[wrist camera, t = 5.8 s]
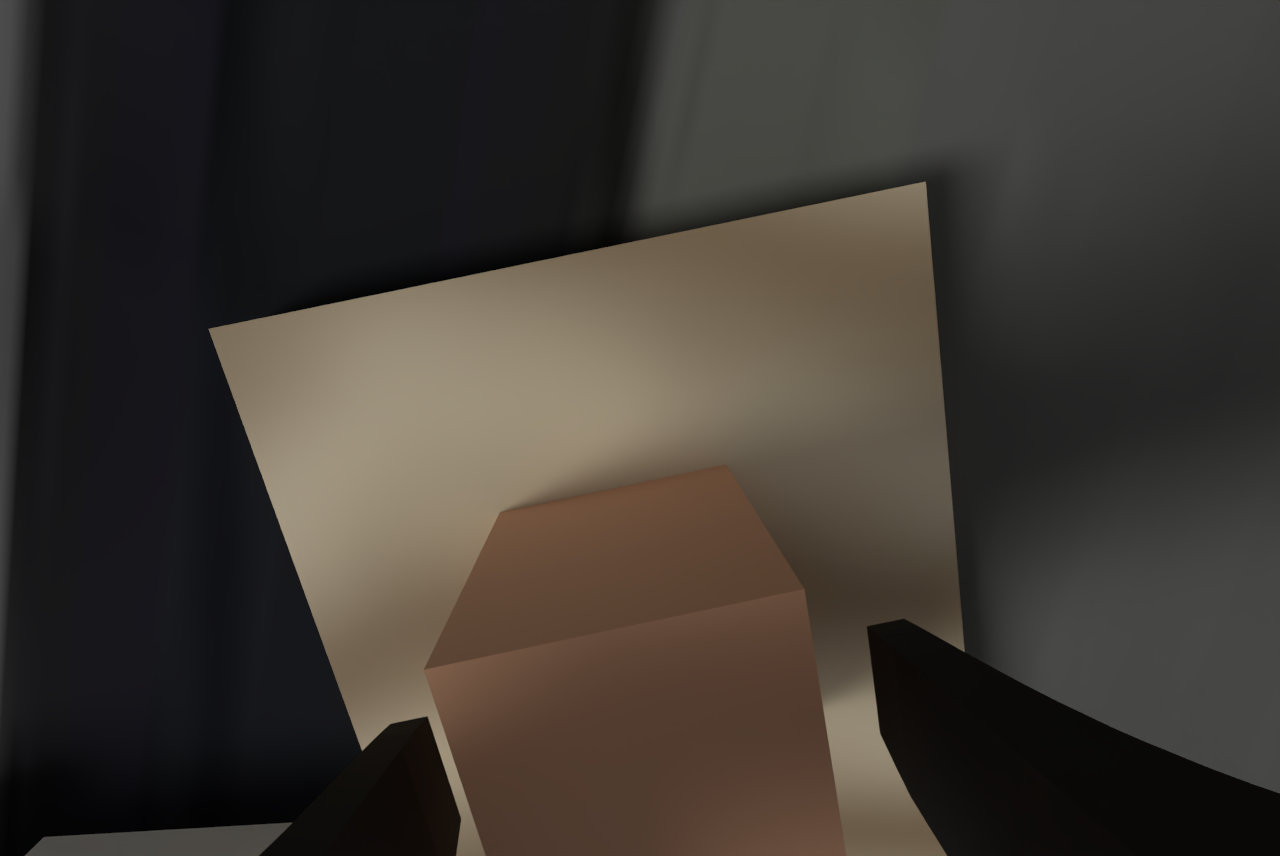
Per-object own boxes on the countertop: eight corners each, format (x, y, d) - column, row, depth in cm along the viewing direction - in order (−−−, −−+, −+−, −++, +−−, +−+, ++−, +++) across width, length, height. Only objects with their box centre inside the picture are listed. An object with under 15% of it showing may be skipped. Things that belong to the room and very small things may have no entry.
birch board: (947, 798, 16) (980, 849, 14) (454, 898, 16) (438, 960, 14) (888, 193, 12) (925, 181, 11) (255, 323, 12) (208, 328, 11)
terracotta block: (773, 723, 13) (865, 974, 9) (570, 765, 13) (546, 1041, 9) (725, 463, 12) (804, 588, 7) (499, 512, 12) (423, 669, 7)
